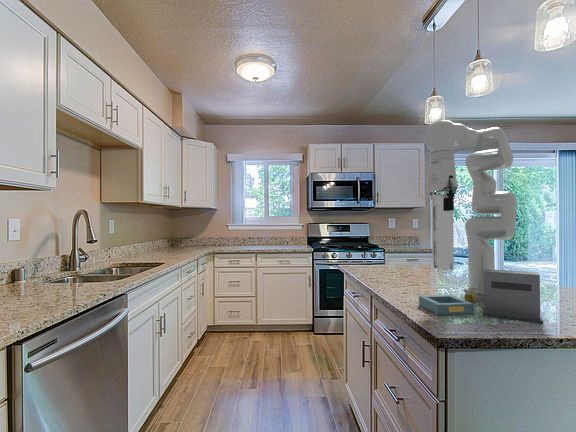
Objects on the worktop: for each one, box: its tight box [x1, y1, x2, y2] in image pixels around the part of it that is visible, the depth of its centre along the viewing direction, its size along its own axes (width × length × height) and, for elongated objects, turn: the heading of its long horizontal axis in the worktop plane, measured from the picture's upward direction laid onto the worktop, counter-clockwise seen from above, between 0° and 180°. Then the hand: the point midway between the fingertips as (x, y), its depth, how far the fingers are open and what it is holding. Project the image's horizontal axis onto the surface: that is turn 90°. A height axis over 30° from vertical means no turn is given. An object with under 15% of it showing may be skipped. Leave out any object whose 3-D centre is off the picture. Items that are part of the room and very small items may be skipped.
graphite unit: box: [481, 269, 544, 325], centre depth 99 cm, size 8×15×14 cm, turn 58°
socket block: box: [418, 294, 475, 317], centre depth 106 cm, size 12×12×4 cm
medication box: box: [464, 288, 480, 305], centre depth 118 cm, size 12×3×4 cm, turn 140°
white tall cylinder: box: [431, 193, 455, 270], centre depth 108 cm, size 6×6×25 cm
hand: (442, 210), depth 108 cm, fingers closed on white tall cylinder, 6 cm apart
